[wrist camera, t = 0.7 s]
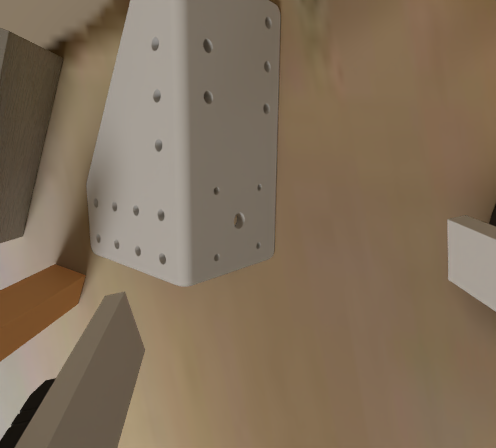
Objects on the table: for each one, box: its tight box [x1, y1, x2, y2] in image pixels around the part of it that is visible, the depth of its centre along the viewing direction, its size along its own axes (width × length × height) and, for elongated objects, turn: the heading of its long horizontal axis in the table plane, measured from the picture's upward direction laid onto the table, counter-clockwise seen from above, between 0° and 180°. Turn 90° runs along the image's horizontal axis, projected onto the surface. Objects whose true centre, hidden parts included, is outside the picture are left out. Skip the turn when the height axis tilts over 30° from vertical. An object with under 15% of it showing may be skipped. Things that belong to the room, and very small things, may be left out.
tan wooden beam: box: [0, 264, 86, 361], centre depth 25 cm, size 3×3×13 cm
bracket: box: [86, 0, 281, 286], centre depth 29 cm, size 13×10×20 cm
